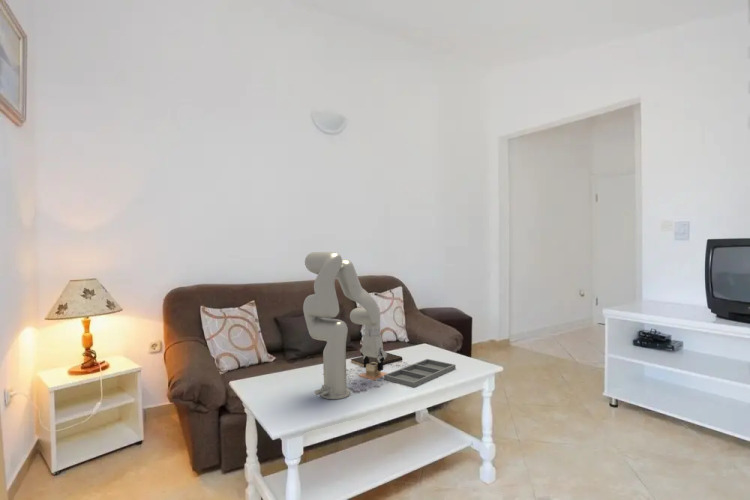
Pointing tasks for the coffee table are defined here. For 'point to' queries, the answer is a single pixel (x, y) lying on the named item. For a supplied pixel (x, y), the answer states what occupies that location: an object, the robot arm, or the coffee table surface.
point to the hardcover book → (389, 359)
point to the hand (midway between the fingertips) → (373, 368)
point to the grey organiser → (419, 372)
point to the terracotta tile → (372, 376)
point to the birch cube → (372, 369)
